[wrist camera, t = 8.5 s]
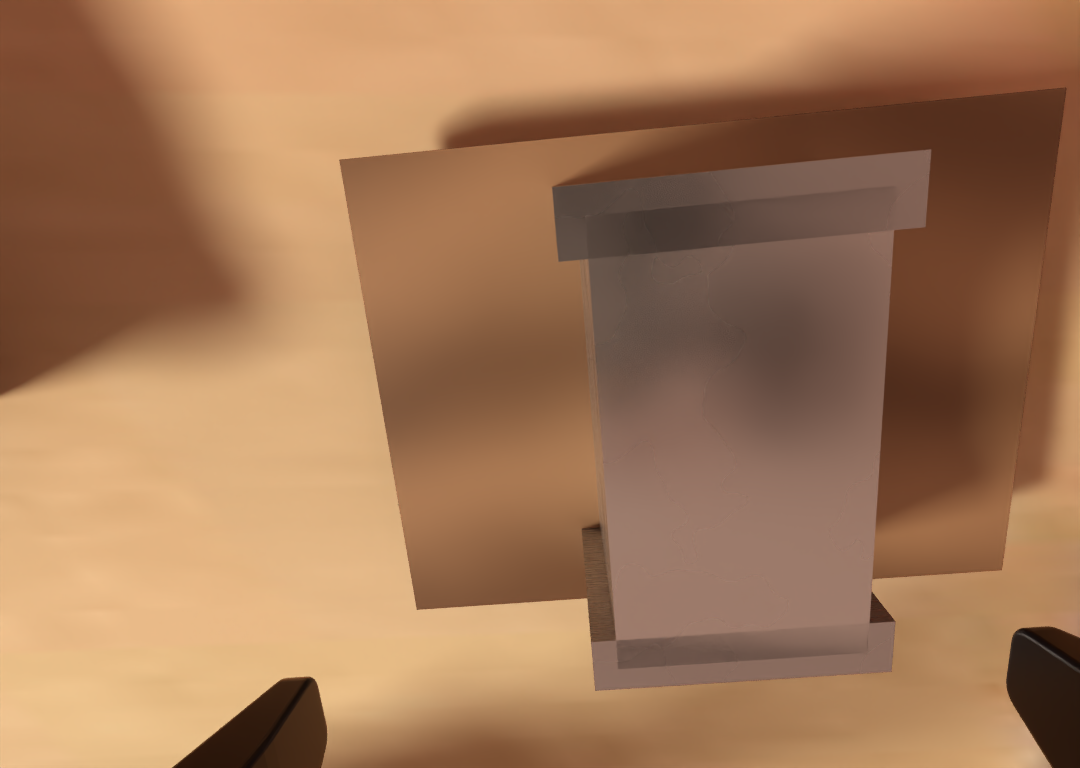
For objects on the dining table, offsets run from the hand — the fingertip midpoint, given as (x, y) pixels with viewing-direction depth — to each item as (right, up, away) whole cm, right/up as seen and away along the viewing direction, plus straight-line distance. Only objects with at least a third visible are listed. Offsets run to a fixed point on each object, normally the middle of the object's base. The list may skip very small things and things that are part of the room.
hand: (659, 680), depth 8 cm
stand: (+2, +5, +11) cm, 12 cm away
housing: (+2, +4, +8) cm, 9 cm away
